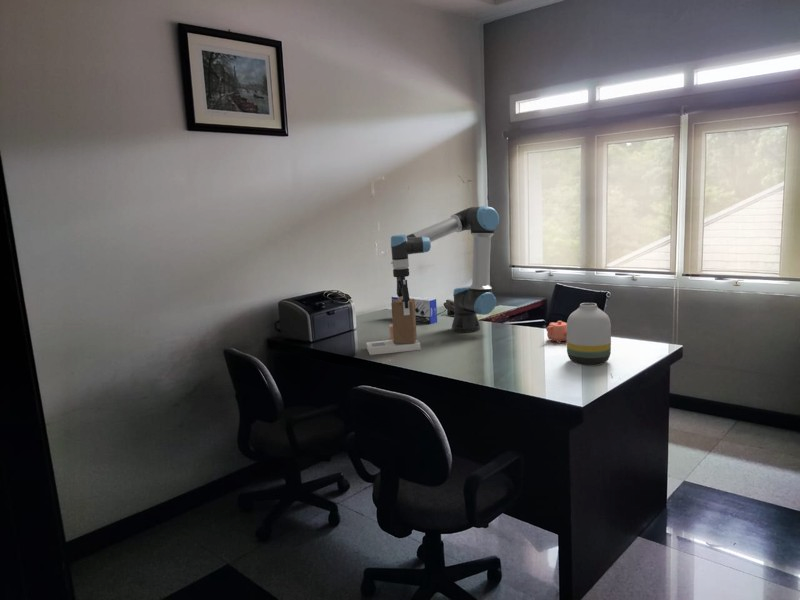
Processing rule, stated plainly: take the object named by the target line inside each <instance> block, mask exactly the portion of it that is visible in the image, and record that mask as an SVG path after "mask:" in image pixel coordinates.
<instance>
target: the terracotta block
mask: <svg viewBox="0 0 800 600" xmlns="http://www.w3.org/2000/svg"><path fill="white" fill-rule="evenodd" d="M388 332H389V334H388V335H389V340H394V338H393V323H392V324H388Z"/></svg>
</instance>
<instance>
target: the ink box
mask: <svg viewBox="0 0 800 600" xmlns="http://www.w3.org/2000/svg"><path fill="white" fill-rule="evenodd" d="M402 297H403V296H402ZM409 298H410V299H415V315H416V322H418V323H417V324H423V325H424V324H425V325H434V324H436V323H438V311H437V310H438V309H437V307H438V306H437V298H431V297H419V296H410V295H409ZM394 299H398V296H397V295H393V296H391V303H392V302H393V300H394Z"/></svg>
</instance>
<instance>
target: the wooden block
mask: <svg viewBox="0 0 800 600" xmlns="http://www.w3.org/2000/svg"><path fill="white" fill-rule="evenodd" d="M402 300H403V299H394V300H393V302H392V301H391V319H392V320H391V321H392V324H393V338H394V344H414V343H415V341H416V340H417V339H418V337H417V323H416V315H415V299H410V300H409V310H410V315H404V310H403V302H402Z"/></svg>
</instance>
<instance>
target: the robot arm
mask: <svg viewBox="0 0 800 600" xmlns="http://www.w3.org/2000/svg"><path fill="white" fill-rule="evenodd" d="M499 223H500V216H499V212H497V210H496V209H495V208H494V207H491V206H486V205H483V206H472V207H467V208H465V209H462V210H459V211H458V212H456V213H454V214H452V215H450V217H449V218H447V219H444V220H442V221H440V222H437V223H434V224H432V225H429V226H428V227H424V228H422V229H419V230H418V231H415V232H412V233H410V234H407V235H406V234H395V235H391V237H390V248H391V249H390V250H391V251H390V252H391V260H392V261H391V262H390V263H391V264H392V268H393V270H392V273H393V277H394V278H396V296H398V299H403V300H402V302H403V310H404V315H410V310H409V300H410V298H409V296H410V293H409V286H408V280H407V279H406V277H409V276H410V268H409V267H410V266H409V255H412V254H413V255H414V254H425V253H429V251H431V247H432V246H431V243H432V242H435V241H437V240H439V239H441V238H444V237H446V236H449V235H451V234H453V233H460V232H463V231H470V234H471V236H472V237H473V245H472V246H473V248H472V249H473V251H472V276H471V277H472V278H471V279H472V282H471V283H472V284H471V285H470V286H462V287H455V288H454V289H453V295H452V296H453V309H454V317H453V319H452V323H451V330H452V332H456V333H474V332H478V331H480V330H481V324H480V321H479V318H478V316H477V315H483V316H484V315H486V316H487V315H489V314H490V313H492V312H493V311H494V310H495V308H496V305H497V298H496V296H495V295H494V294H493V287H492V286H491V285H490V272H491V271H490V270H491V269H490V268H491V245H492V244H491V242H492V241H491V239H492V237H493V236H494V235H495V230H496V229H497V227H498V226H499ZM402 296H403V297H402Z"/></svg>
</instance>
